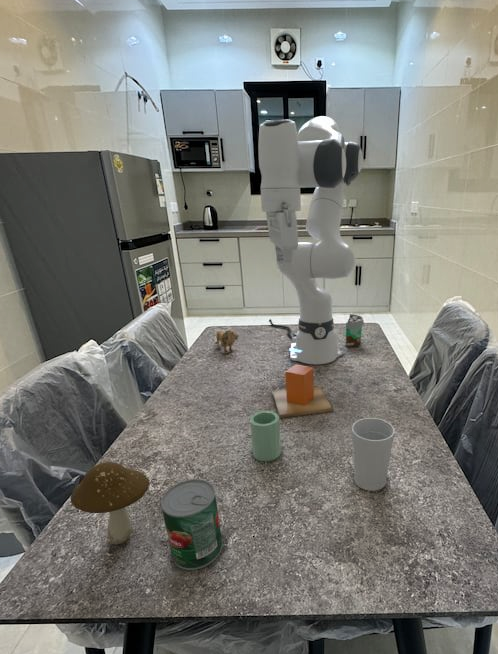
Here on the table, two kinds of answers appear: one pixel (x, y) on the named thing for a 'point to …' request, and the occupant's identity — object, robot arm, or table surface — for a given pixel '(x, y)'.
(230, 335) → the lion figurine
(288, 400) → the orange block
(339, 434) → the table surface
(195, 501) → the canned tomato
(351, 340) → the food container
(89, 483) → the mushroom
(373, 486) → the cup
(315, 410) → the wooden board
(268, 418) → the green cup
